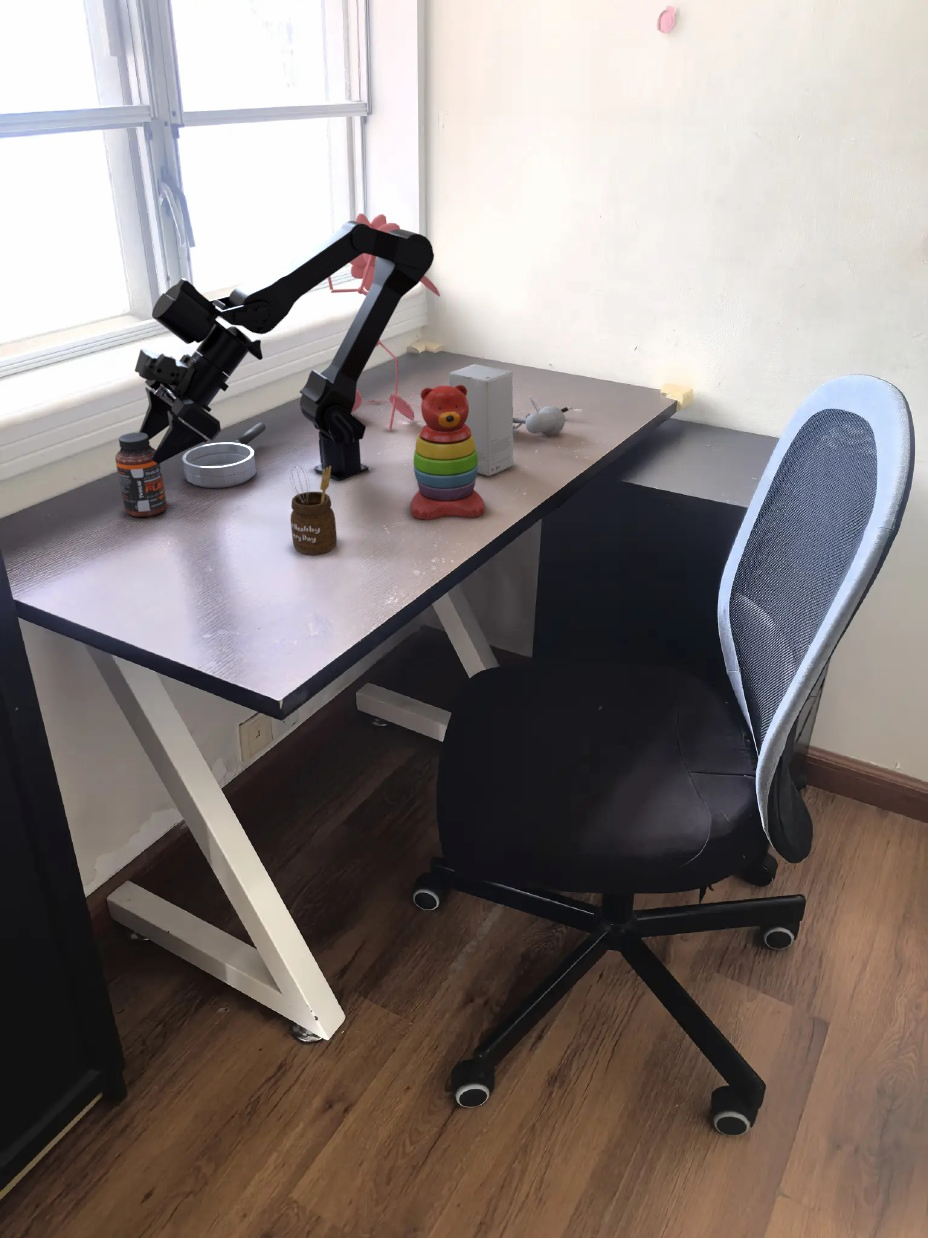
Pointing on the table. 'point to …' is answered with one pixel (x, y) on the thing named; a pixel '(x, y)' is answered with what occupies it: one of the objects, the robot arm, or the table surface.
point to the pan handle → (248, 436)
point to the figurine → (365, 271)
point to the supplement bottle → (140, 476)
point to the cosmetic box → (488, 414)
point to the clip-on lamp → (543, 420)
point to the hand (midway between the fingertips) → (147, 451)
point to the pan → (219, 465)
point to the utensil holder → (313, 519)
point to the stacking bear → (445, 457)
